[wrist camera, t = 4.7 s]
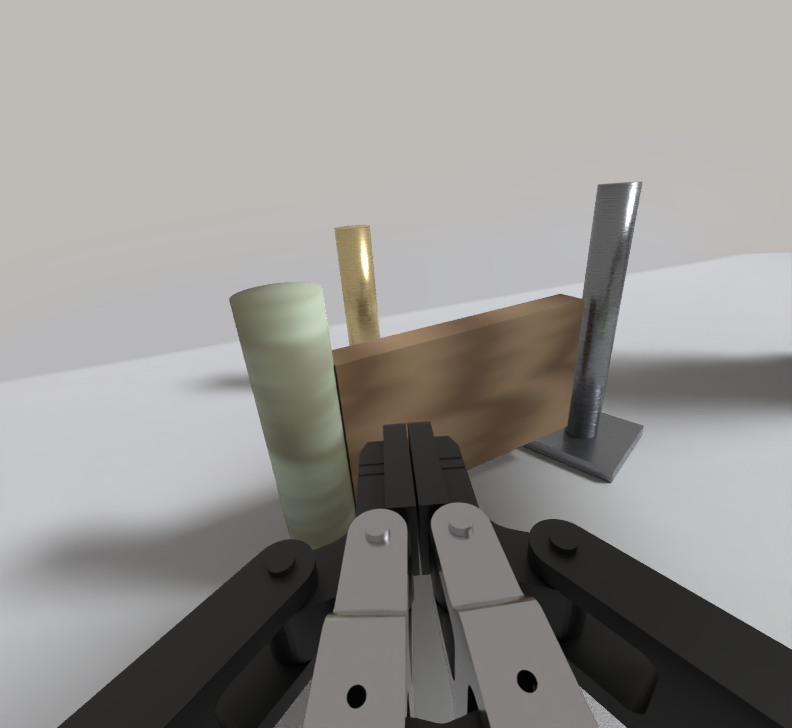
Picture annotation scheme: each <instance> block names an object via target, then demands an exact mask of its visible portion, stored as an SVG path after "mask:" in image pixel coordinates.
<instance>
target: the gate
mask: <svg viewBox="0 0 792 728" xmlns="http://www.w3.org/2000/svg"><path fill="white" fill-rule="evenodd" d="M229 300H230V305H231V308H232V312H233V316H234V320H235V323H236V328H237V332H238V336H239V340H240V344H241V347H242V351H243V355H244V359H245V363H246V367H247V371H248V375H249V379H250V383H251V386H252V390H253V394H254V398H255V402H256V406H257V410H258V414H259V418H260V422H261V425H262V429H263V433H264V437H265V441H266V445H267V449H268V453H269V457H270V461H271V464H272V468H273V472H274V476H275V480H276V484H277V488H278V492H279V496H280V500H281V503H282V507H283V511H284V515H285V519H286V523H287V527H288V531H289V535H290V539H295V540H300V541H303V542H305V543H307V544H308V545H309V546H310V547H311V548H312V550H315V549H317V548H320V547H323V546H325V545H328V544H331V543H333V542H335V541H337V540H338V539H340V538H341V537H343V536H344V535H345V534H346V533H347V532H348V530H349V527H350V525H351V523H352V522H353V520H354V519H355V516H356V502H357V487H358V472H359V457H360V452H361V450H362V449H363V447H364V446H365V444H366V443H367V442H374V441H383V425H386V424H399V423H406V430H407V438H408V427H407V423H411V422H424V421H430V422H431V426H432V430H433V434H434V437H437V436H449V437H450V438H451V439H453V440H454V441H455V442H456V443H457V444H458V445H459V448H460V452H461V455H462V459H463V461H464V464H465V468H466V470H469V469H471V468H473V467H476V466H478V465H480V464H483V463H485V462H487V461H489V460H492V459H494V458H496V457H498V456H501V455H503V454H505V453H507V452H510V451H512V450H514V449H516V448H519V447H521V446H523V445H526V444H528V443H530V442H532V441H535V440H537V439H539V438H541V437H544V436H546V435H548V434H550V433H553V432H555V431H557V430H559V429H562V428H564V427H566V426H567V425H568V418H569V411H570V403H571V396H572V389H573V382H574V375H575V368H576V361H577V353H578V346H579V339H580V332H581V325H582V318H583V310H584V303H585V300H584V299H580V298H576V297H571V296H567V295H563V294H558V295H554V296H550V297H546V298H542V299H538V300H534V301H530V302H526V303H522V304H518V305H514V306H510V307H506V308H502V309H498V310H494V311H489V312H485V313H481V314H477V315H473V316H469V317H465V318H461V319H457V320H453V321H449V322H445V323H441V324H437V325H433V326H429V327H425V328H421V329H417V330H413V331H408V332H404V333H400V334H396V335H392V336H388V337H384V338H380V339H376V340H372V341H368V342H364V343H360V344H356V345H352V346H348V347H344V348H340V349H336V350H332V349H331V342H330V336H329V329H328V322H327V316H326V309H325V303H324V296H323V289H322V286H321V285H320V284H317V283H312V282H285V283H277V284H269V285H263V286H258V287H254V288H251V289H247V290H243V291H241V292H238V293H236V294H234V295H233V296H231V297H230V299H229ZM408 446H409V445H408Z"/></svg>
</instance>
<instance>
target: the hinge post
mask: <svg viewBox="0 0 792 728" xmlns="http://www.w3.org/2000/svg"><path fill="white" fill-rule="evenodd" d="M641 187H642V182H626V183H610V184H599V185H598V188H597V195H596V202H595V210H594V217H593V224H592V232H591V239H590V246H589V254H588V261H587V268H586V275H585V283H584V290H583V297H582V299H584V300H585V303H584V310H583V318H582V325H581V332H580V339H579V346H578V353H577V361H576V368H575V375H574V382H573V389H572V396H571V403H570V411H569V418H568V425H567V426H566V427H564V428H562V429H559V430H557V431H555V432H553V433H550V434H548V435H546V436H544V437H541V438H539V439H537V440H535V441H532V442H530V443H528V444H526V445H523V446H525V447H527V448H529V449H532V450H534V451H537V452H539V453H541V454H544V455H546V456H549V457H551V458H553V459H556V460H558V461H560V462H563V463H565V464H568V465H570V466H572V467H575V468H577V469H580V470H582V471H584V472H587V473H589V474H592V475H594V476H596V477H599V478H601V479H604V480H606V481H608V482H612V481H613V479H614V478H615V476H616V474H617V473H618V471H619V470H620V468H621V467H622V465H623V464H624V462H625V460H626V459H627V457H628V456H629V454H630V453H631V451H632V450H633V448H634V446H635V445H636V443H637V442H638V440H639V439H640V437H641V435H642V431H643V427H644V426H642V425H639V424H636V423H633V422H629V421H626V420H623V419H620V418H617V417H613V416H610V415H607V414H604V413H601V409H602V403H603V398H604V392H605V387H606V381H607V376H608V370H609V365H610V359H611V353H612V348H613V342H614V337H615V331H616V326H617V320H618V315H619V309H620V304H621V298H622V292H623V287H624V281H625V276H626V270H627V265H628V258H629V254H630V248H631V243H632V237H633V231H634V226H635V220H636V215H637V209H638V204H639V198H640V193H641Z"/></svg>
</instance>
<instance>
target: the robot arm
mask: <svg viewBox="0 0 792 728" xmlns="http://www.w3.org/2000/svg"><path fill="white" fill-rule="evenodd" d="M407 427H408V438H407V430H406V423H399V424H386V425H383V441H374V442H367V443H366V444H365V446H364V447H363V449H362V450H361V452H360V457H359V472H358V487H357V502H356V516H355V519H354V520H353V522H352V523H351V525H350V527H349V530H348V532H347V533H346V534H345V535H344V536H343V537H341V538H340V539H338V540H337V541H335V542H333V543H331V544H328V545H325V546H323V547H320V548H317V549H315V550H312V548H311V547H310V546H309V545H308V544H307V543H305V542H303V541H300V540H295V539H288V540H282V541H279V542H276V543H274V544H272V545H270V546H268V547H267V548H265V549H264V550H263V551H262V552H260V553H259V554H258V555H257V556H256V557H255V558H253V559H252V560H251V561H250V562H249V563H248V564H247V565H245V566H244V567H243V568H242V569H241V570H240V571H238V572H237V573H236V574H235V575H234V576H233V577H231V578H230V579H229V580H228V581H227V582H226V583H224V584H223V585H222V586H221V587H220V588H219V589H218V590H216V591H215V592H214V593H213V594H212V595H211V596H209V597H208V598H207V599H206V600H205V601H204V602H202V603H201V604H200V605H199V606H198V607H197V608H195V609H194V610H193V611H192V612H191V613H190V614H189V615H187V616H186V617H185V618H184V619H183V620H182V621H180V622H179V623H178V624H177V625H176V626H175V627H173V628H172V629H171V630H170V631H169V632H168V633H166V634H165V635H164V636H163V637H162V638H161V639H160V640H158V641H157V642H156V643H155V644H154V645H153V646H151V647H150V648H149V649H148V650H147V651H146V652H144V653H143V654H142V655H141V656H140V657H139V658H137V659H136V660H135V661H134V662H133V663H132V664H131V665H129V666H128V667H127V668H126V669H125V670H124V671H122V672H121V673H120V674H119V675H118V676H117V677H115V678H114V679H113V680H112V681H111V682H110V683H108V684H107V685H106V686H105V687H104V688H103V689H102V690H100V691H99V692H98V693H97V694H96V695H95V696H93V697H92V698H91V699H90V700H89V701H88V702H86V703H85V704H84V705H83V706H82V707H81V708H79V709H78V710H77V711H76V712H75V713H74V714H73V715H71V716H70V717H69V718H68V719H67V720H66V721H64V722H63V723H62V724H61V725H60V726H59V727H57V728H274V726H275V725H276V724H277V723H278V721H279V720H280V719H281V717H282V716H283V715H284V713H285V712H286V711H287V710H288V708H289V707H290V706H291V704H292V703H293V702H294V700H295V699H296V698H297V697H298V695H299V694H300V693H301V691H302V690H303V689H304V687H305V686H306V685H307V684H308V682H309V681H310V680H311V678H312V677H313V678H312V683H311V688H310V693H309V698H308V703H307V708H306V713H305V718H304V723H303V728H599V727H598V725H597V722H596V720H595V718H594V716H593V714H592V712H591V710H590V708H589V706H588V704H587V702H586V699H585V697H584V695H583V693H582V691H581V689H580V687H581V688H582V689H584V690H585V691H586V692H587V693H588V694H589V695H590V696H592V697H593V698H594V699H595V700H596V701H597V702H598V703H600V704H601V705H602V706H603V707H604V708H605V709H606V710H608V711H609V712H610V713H611V714H612V715H613V716H614V717H616V718H617V719H618V720H619V721H620V722H621V723H622V724H624V725H625V726H626V727H627V728H792V650H791V649H790V648H788V647H786V646H785V645H783V644H781V643H779V642H778V641H776V640H774V639H772V638H771V637H769V636H767V635H765V634H764V633H762V632H760V631H759V630H757V629H755V628H753V627H752V626H750V625H748V624H746V623H745V622H743V621H741V620H740V619H738V618H736V617H734V616H733V615H731V614H729V613H727V612H726V611H724V610H722V609H721V608H719V607H717V606H715V605H714V604H712V603H710V602H708V601H707V600H705V599H703V598H702V597H700V596H698V595H696V594H695V593H693V592H691V591H689V590H688V589H686V588H684V587H683V586H681V585H679V584H677V583H676V582H674V581H672V580H670V579H669V578H667V577H665V576H664V575H662V574H660V573H658V572H657V571H655V570H653V569H651V568H650V567H648V566H646V565H644V564H643V563H641V562H639V561H638V560H636V559H634V558H632V557H631V556H629V555H627V554H625V553H624V552H622V551H620V550H619V549H617V548H615V547H613V546H612V545H610V544H608V543H606V542H605V541H603V540H601V539H600V538H598V537H596V536H594V535H593V534H591V533H589V532H587V531H586V530H584V529H582V528H581V527H579V526H577V525H575V524H573V523H570V522H568V521H564V520H558V519H548V520H543V521H540V522H538V523H537V524H535V525H534V526H533V528H532V529H531V531H530V533H529V532H524V531H518V530H513V529H508V528H505V527H502V526H499V525H497V524H495V523H494V522H492V521H490V520H489V518H488V516H487V515H486V514H485V513H484V512H483V511H482V510H481V509H479V506H478V504H477V500H476V497H475V494H474V491H473V488H472V485H471V482H470V479H469V476H468V473H467V470H466V468H465V464H464V461H463V459H462V455H461V452H460V448H459V445H458V444H457V443H456V442H455V441H454V440H453V439H451V438H450V437H449V436H437V437H434V434H433V430H432V426H431V422H430V421H424V422H411V423H407ZM408 445H409V446H408ZM418 544H419V552H420V560H421V569H422V575H427V574H431V579H432V586H433V603H434V610H435V614H436V619H437V623H438V628H439V633H440V637H441V642H442V647H443V651H444V656H445V660H446V665H447V670H448V674H449V679H450V684H451V688H452V694H453V700H454V708H455V716H456V719H455V720H453V721H451V722H448V723H443V724H440V723H434V722H430V721H426V720H422V719H418V718H414V698H413V610H412V604H413V600H414V582H413V576H417V575H420V572H419V553H418ZM579 686H580V687H579Z"/></svg>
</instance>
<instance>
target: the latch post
mask: <svg viewBox="0 0 792 728" xmlns="http://www.w3.org/2000/svg"><path fill="white" fill-rule="evenodd" d="M335 237H336V245H337V252H338V260H339V268H340V275H341V283H342V291H343V299H344V307H345V314H346V322H347V330H348V338H349V345H350V346H352V345H356V344H360V343H364V342H368V341H372V340H376V339H380V332H379V321H378V311H377V300H376V289H375V278H374V267H373V256H372V246H371V235H370V226H369V225H355V226H344V227H338V228H335Z"/></svg>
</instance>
